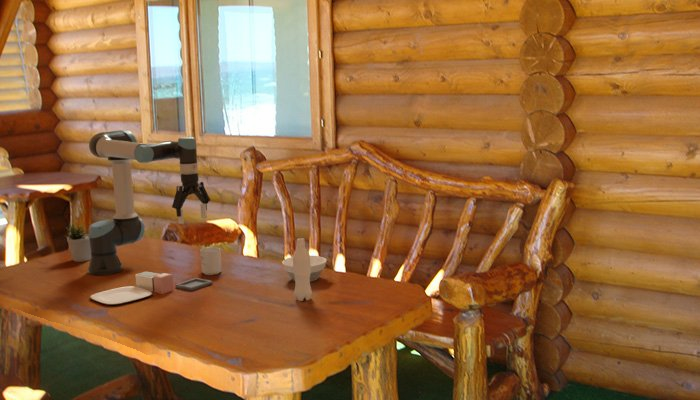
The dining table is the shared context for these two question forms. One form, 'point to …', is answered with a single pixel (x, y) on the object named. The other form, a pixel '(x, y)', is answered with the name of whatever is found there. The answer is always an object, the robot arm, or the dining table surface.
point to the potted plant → (79, 244)
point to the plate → (121, 295)
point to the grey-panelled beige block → (145, 280)
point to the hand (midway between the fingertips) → (192, 220)
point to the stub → (163, 283)
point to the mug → (211, 260)
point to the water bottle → (302, 271)
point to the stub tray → (193, 284)
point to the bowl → (315, 265)
